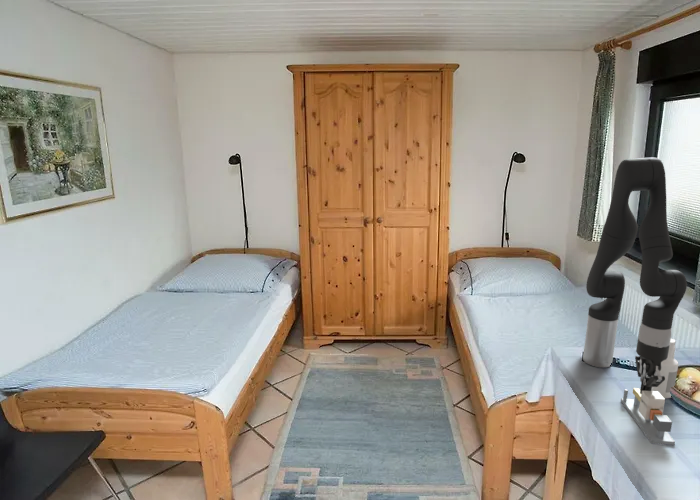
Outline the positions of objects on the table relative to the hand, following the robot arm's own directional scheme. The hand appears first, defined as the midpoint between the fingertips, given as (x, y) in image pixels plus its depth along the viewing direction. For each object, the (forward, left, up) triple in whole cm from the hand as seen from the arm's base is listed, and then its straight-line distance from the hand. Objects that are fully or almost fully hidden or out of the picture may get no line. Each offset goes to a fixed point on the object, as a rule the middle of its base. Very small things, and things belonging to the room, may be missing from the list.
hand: (644, 395), depth 139 cm
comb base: (+3, 0, -7) cm, 7 cm away
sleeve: (+4, 0, -4) cm, 6 cm away
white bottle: (-13, +11, -7) cm, 19 cm away
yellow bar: (+3, 0, -3) cm, 5 cm away
